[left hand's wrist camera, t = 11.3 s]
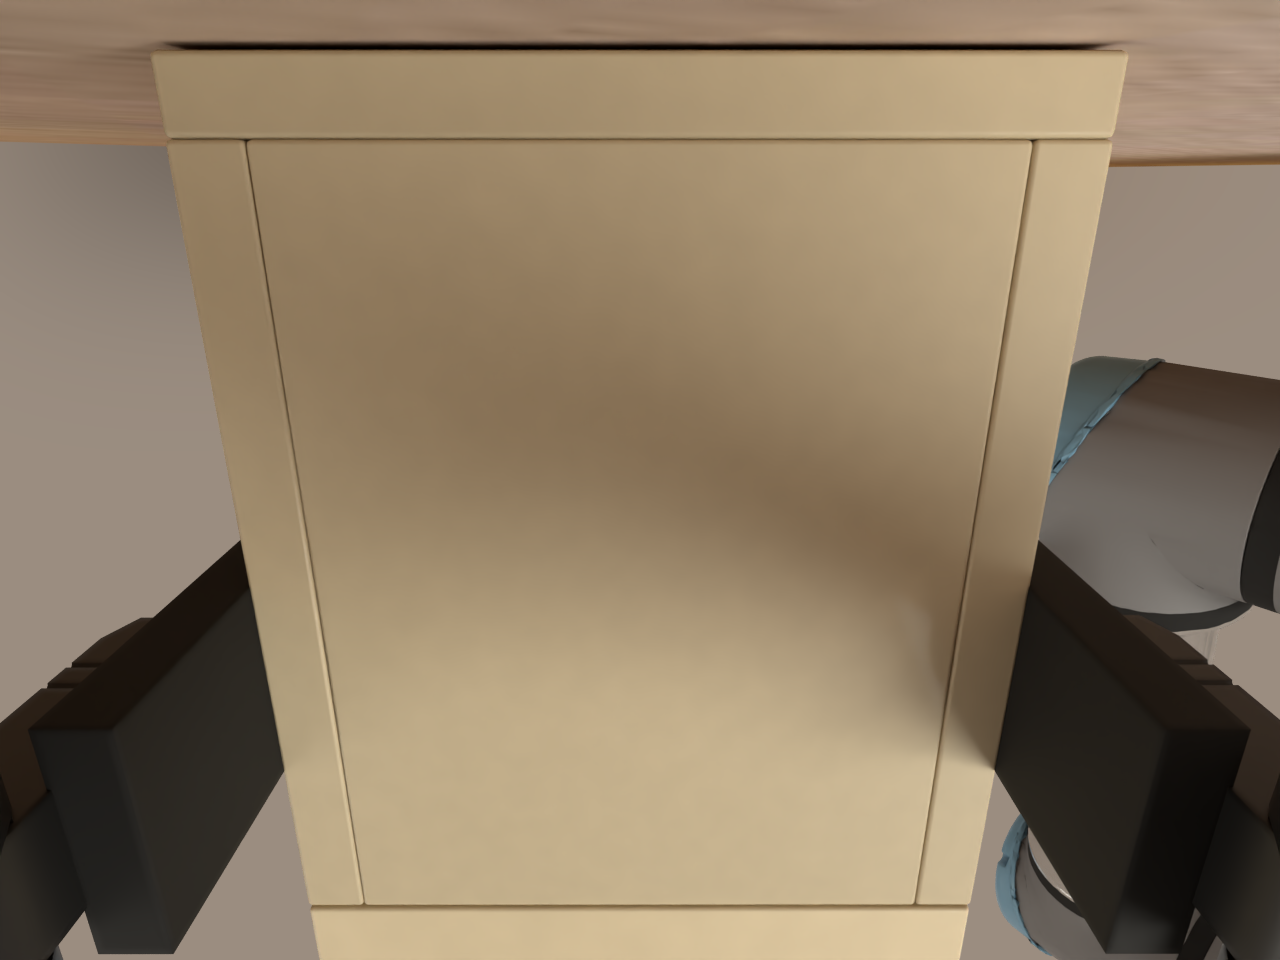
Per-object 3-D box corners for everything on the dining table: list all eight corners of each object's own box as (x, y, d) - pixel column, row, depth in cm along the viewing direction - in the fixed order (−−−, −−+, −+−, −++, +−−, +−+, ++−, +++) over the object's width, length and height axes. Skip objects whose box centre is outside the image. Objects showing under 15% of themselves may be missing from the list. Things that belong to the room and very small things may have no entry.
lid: (793, 521, 24) (777, 744, 27) (485, 521, 24) (501, 744, 27) (970, 908, 11) (904, 1260, 14) (308, 909, 11) (375, 1260, 14)
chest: (829, 131, 20) (799, 532, 24) (449, 131, 20) (479, 532, 24) (1133, 49, 8) (970, 906, 11) (145, 47, 8) (308, 906, 11)
